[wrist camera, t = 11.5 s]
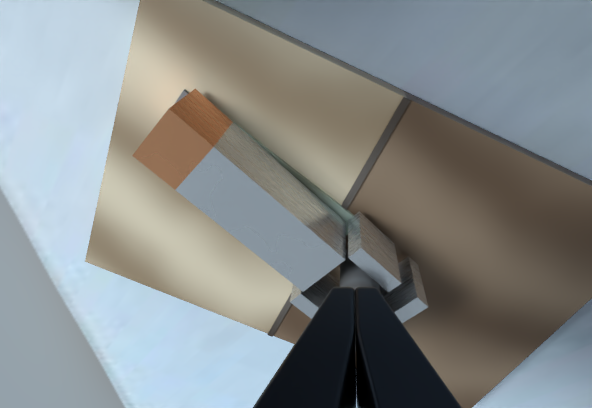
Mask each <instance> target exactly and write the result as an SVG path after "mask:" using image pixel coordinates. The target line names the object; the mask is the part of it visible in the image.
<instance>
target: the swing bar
mask: <svg viewBox="0 0 592 408" xmlns="http://www.w3.org/2000/svg"><path fill="white" fill-rule="evenodd" d="M132 156H133V157H134V158H136V159H137V160H138V161H139V162H141V163H142V164H143V165H145V166H146V167H147V168H148V169H150V170H151V171H152V172H153V173H155V174H156V175H157V176H158V177H160V178H161V179H162V180H163V181H165V182H166V183H167V184H168V185H170V186H171V187H172V188H173V189H175V190H176V191H177V192H178V193H180V194H181V195H182V196H183V197H185V198H186V199H187V200H188V201H190V202H191V203H192V204H193V205H195V206H196V207H197V208H198V209H200V210H201V211H202V212H203V213H205V214H206V215H207V216H208V217H210V218H211V219H212V220H213V221H215V222H216V223H217V224H218V225H220V226H221V227H222V228H224V229H225V230H226V231H227V232H229V233H230V234H231V235H232V236H234V237H235V238H236V239H237V240H239V241H240V242H241V243H242V244H244V245H245V246H246V247H247V248H249V249H250V250H251V251H252V252H254V253H255V254H256V255H257V256H259V257H260V258H261V259H262V260H264V261H265V262H266V263H267V264H269V265H270V266H271V267H272V268H274V269H275V270H276V271H277V272H279V273H280V274H281V275H282V276H284V277H285V278H286V279H287V280H289V281H290V282H291V283H292V284H293V287H292V292H291V298H290V303H292V304H293V305H294V306H296V307H297V308H298V309H299V310H301V311H302V312H303V313H305V314H306V315H307V316H308V317H310V318H311V319H312V318H313V316H314V315H315V313H316V312H317V310H318V309H319V307H320V305H321V304H322V302H323V301H324V299H325V298H326V296H327V295H328V293H329V292H330V290H331V289H332V288H333V287H340V282H339V281H338V280H337V279H336V278H335V277H333V276H332V275H331V274H330V273H329V272H330V271H331V270H333V269H334V268H335V267H337V266H338V265H339V264H341V263H342V262H343V261H345V256H346V222H345V221H344V220H343V219H341V218H340V217H339V216H338V215H337V214H336V213H335V212H334V211H332V210H331V209H330V208H329V207H328V206H327V205H326V204H325V203H323V202H322V201H321V200H320V199H319V198H318V197H317V196H316V195H314V194H313V193H312V192H311V191H310V190H309V189H308V188H307V187H305V186H304V185H303V184H302V183H301V182H300V181H299V180H298V179H296V178H295V177H294V176H293V175H292V174H291V173H290V172H289V171H287V170H286V169H285V168H284V167H283V166H282V165H281V164H280V163H279V162H277V161H276V160H275V159H274V158H273V157H272V156H271V155H270V154H268V153H267V152H266V151H265V150H264V149H263V148H262V147H261V146H259V145H258V144H257V143H256V142H255V141H254V140H253V139H252V138H250V137H249V136H248V135H247V134H246V133H245V132H244V131H243V130H241V129H240V128H239V127H238V126H237V125H236V124H235V123H234V122H232V121H231V120H230V119H229V118H228V117H227V116H226V115H225V114H223V113H222V112H221V111H220V110H219V109H218V108H217V107H216V106H214V105H213V104H212V103H211V102H210V101H209V100H208V99H207V98H205V97H204V96H203V95H202V94H201V93H200V92H199V91H198V90H197V89H194V90H193V91H191V92H190V93H189V94H187V95H186V96H185V97H183V98H182V99H181V100H179V101H178V102H177V103H175V104H174V105H173V106H171V107H170V108H169V109H168V110H167V111H166V113H165V114H164V115H163V117H162V118H161V119H160V120H159V122H158V123H157V124H156V126H155V127H154V128H153V129H152V131H151V132H150V133H149V134H148V136H147V137H146V138H145V140H144V141H143V142H142V143H141V145H140V146H139V147H138V149H137V150H136V151H135V152H134V154H133V155H132ZM348 258H349V259H350V260H351V261H352V262H354V263H355V264H356V265H357V266H358V267H359V268H361V269H362V270H363V271H364V272H365V273H366V274H368V275H369V276H370V277H371V278H372V279H373V280H375V281H376V282H377V283H378V284H379V287H380V293H381V294H382V296H383V297H384V298H385V300H386V301H387V302H388V304H389V305H390V307H391V308H392V310H393V311H394V313H395V314H396V315H397V317H398V318H399V320H400V321H401V322H402V323H404V322H405V321H407V320H408V319H410V318H412V317H413V316H415V315H416V314H418V313H420V312H421V311H423V310H425V309H426V308H428V304H427V299H426V295H425V291H424V287H423V283H422V279H421V275H420V270H419V266H418V264H417V263H415V262H414V261H413V260H412V259H411V258H410V257H409V256H408V257H407V258H405V259H404V260H403V261H401V262H400V263H398V260H397V255H396V249H395V243H393V242H392V241H391V240H390V239H389V238H388V237H387V236H386V235H385V234H384V233H382V232H381V231H380V230H379V229H378V228H377V227H376V226H375V225H374V224H373V223H372V222H370V221H369V220H368V219H367V218H366V217H365V216H364V215H363V214H362V213H361V212H358V213H357V214H355V215H354V216H353V217H352V218H351V219H349V220H348Z"/></svg>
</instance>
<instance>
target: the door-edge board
mask: <svg viewBox="0 0 592 408" xmlns="http://www.w3.org/2000/svg"><path fill="white" fill-rule="evenodd" d="M194 89H197V90H198V91H199V92H200V93H201V94H202V95H203V96H204V97H205V98H207V99H208V100H209V101H210V102H211V103H212V104H213V105H214V106H216V107H217V108H218V109H219V110H220V111H221V112H222V113H223V114H225V115H226V116H227V117H228V118H229V119H230V120H231V121H232V122H234V123H235V124H236V125H237V126H238V127H239V128H240V129H241V130H243V131H244V132H245V133H246V134H247V135H248V136H249V137H250V138H252V139H253V140H254V141H255V142H256V143H257V144H258V145H259V146H261V147H262V148H263V149H264V150H265V151H266V152H267V153H268V154H270V155H271V156H272V157H273V158H274V159H275V160H276V161H277V162H279V163H280V164H281V165H282V166H283V167H284V168H285V169H286V170H287V171H289V172H290V173H291V174H292V175H293V176H294V177H295V178H296V179H298V180H299V181H300V182H301V183H302V184H303V185H304V186H305V187H307V188H308V189H309V190H310V191H311V192H312V193H313V194H314V195H316V196H317V197H318V198H319V199H320V200H321V201H322V202H323V203H325V204H326V205H327V206H328V207H329V208H330V209H331V210H332V211H334V212H335V213H336V214H337V215H338V216H339V217H340V218H341V219H343V220H344V221H345V222H346V256H345V261H343V262H342V263H341V264H339V265H338V266H337V267H335V268H334V269H333V270H331V271H330V272H329V273H330V274H331V275H332V276H333V277H335V278H336V279H337V280H338V281H339V282H340V287H352V288H354V291H355V289H356V288H357V287H376V288H377V289H378V290H379V291H380V287H379V284H378V283H377V282H376V281H375V280H373V279H372V278H371V277H370V276H369V275H368V274H366V273H365V272H364V271H363V270H362V269H361V268H359V267H358V266H357V265H356V264H355V263H354V262H352V261H351V260H350V259H349V258H348V220H349V219H351V218H352V217H353V216H354V215H355V214H357V213H358V212H361V213H362V214H363V215H364V216H365V217H366V218H367V219H368V220H369V221H370V222H372V223H373V224H374V225H375V226H376V227H377V228H378V229H379V230H380V231H381V232H382V233H384V234H385V235H386V236H387V237H388V238H389V239H390V240H391V241H392V242H393V243H395V249H396V255H397V260H398V263H400V262H401V261H403V260H404V259H405V258H407V257H408V256H409V257H410V258H411V259H412V260H413V261H414V262H415V263H417V264H418V266H419V270H420V275H421V279H422V283H423V287H424V291H425V295H426V299H427V304H428V308H426V309H425V310H423V311H421V312H420V313H418V314H416V315H415V316H413V317H412V318H410V319H408V320H407V321H405V322H404V323H402V324H403V325H404V327H405V328H406V330H407V331H408V332H409V334H410V335H411V337H412V338H413V339H414V341H415V342H416V344H417V345H418V346H419V348H420V349H421V351H422V352H423V354H424V355H425V356H426V358H427V359H428V361H429V362H430V363H431V365H432V366H433V368H434V369H435V371H436V372H437V373H438V375H439V376H440V378H441V379H442V380H443V382H444V383H445V385H446V386H447V388H448V389H449V390H450V392H451V393H452V395H453V396H454V397H455V399H456V400H457V402H458V403H459V404H460V406H461V407H462V408H472V407H473V406H474V405H475V404H476V403H477V402H478V401H480V400H481V399H482V398H483V397H484V396H485V395H486V394H487V393H488V392H489V391H491V390H492V389H493V388H494V387H495V386H496V385H497V384H498V383H499V382H500V381H501V380H503V379H504V378H505V377H506V376H507V375H508V374H509V373H510V372H511V371H512V370H514V369H515V368H516V367H517V366H518V365H519V364H520V363H521V362H522V361H523V360H525V359H526V358H527V357H528V356H529V355H530V354H531V353H532V352H533V351H534V350H535V349H537V348H538V347H539V346H540V345H541V344H542V343H543V342H544V341H545V340H546V339H548V338H549V337H550V336H551V335H552V334H553V333H554V332H555V331H556V330H557V329H559V328H560V327H561V326H562V325H563V324H564V323H565V322H566V321H567V320H568V319H569V318H571V317H572V316H573V315H574V314H575V313H576V312H577V311H578V310H579V309H580V308H582V307H583V306H584V305H585V304H586V303H587V302H588V301H589V300H590V299H591V298H592V181H591V180H589V179H587V178H585V177H582V176H580V175H578V174H576V173H574V172H572V171H570V170H568V169H566V168H564V167H562V166H559V165H557V164H555V163H553V162H551V161H549V160H547V159H545V158H543V157H541V156H539V155H537V154H534V153H532V152H530V151H528V150H526V149H524V148H522V147H520V146H518V145H516V144H514V143H511V142H509V141H507V140H505V139H503V138H501V137H499V136H497V135H495V134H493V133H491V132H489V131H486V130H484V129H482V128H480V127H478V126H476V125H474V124H472V123H470V122H468V121H466V120H463V119H461V118H459V117H457V116H455V115H453V114H451V113H449V112H447V111H445V110H443V109H441V108H438V107H436V106H434V105H432V104H430V103H428V102H426V101H424V100H422V99H420V98H418V97H415V96H413V95H411V94H409V93H407V92H405V91H403V90H401V89H399V88H397V87H395V86H392V85H390V84H388V83H386V82H384V81H382V80H380V79H378V78H376V77H374V76H372V75H370V74H367V73H365V72H363V71H361V70H359V69H357V68H355V67H353V66H351V65H349V64H347V63H344V62H342V61H340V60H338V59H336V58H334V57H332V56H330V55H328V54H326V53H324V52H322V51H319V50H317V49H315V48H313V47H311V46H309V45H307V44H305V43H303V42H301V41H299V40H296V39H294V38H292V37H290V36H288V35H286V34H284V33H282V32H280V31H278V30H276V29H273V28H271V27H269V26H267V25H265V24H263V23H261V22H259V21H257V20H255V19H253V18H251V17H248V16H246V15H244V14H242V13H240V12H238V11H236V10H234V9H232V8H230V7H228V6H225V5H223V4H221V3H219V2H217V1H215V0H140V3H139V7H138V12H137V17H136V22H135V26H134V31H133V36H132V41H131V46H130V50H129V55H128V60H127V65H126V69H125V74H124V79H123V84H122V88H121V93H120V98H119V103H118V107H117V112H116V117H115V122H114V127H113V131H112V136H111V141H110V146H109V150H108V155H107V160H106V165H105V169H104V174H103V179H102V184H101V188H100V193H99V198H98V203H97V208H96V212H95V217H94V222H93V227H92V231H91V236H90V241H89V246H88V250H87V255H86V260H85V262H88V263H90V264H93V265H95V266H98V267H100V268H103V269H105V270H108V271H110V272H113V273H115V274H118V275H121V276H123V277H126V278H128V279H131V280H133V281H136V282H138V283H141V284H143V285H146V286H148V287H151V288H154V289H156V290H159V291H161V292H164V293H166V294H169V295H171V296H174V297H176V298H179V299H181V300H184V301H187V302H189V303H192V304H194V305H197V306H199V307H202V308H204V309H207V310H209V311H212V312H214V313H217V314H220V315H222V316H225V317H227V318H230V319H232V320H235V321H237V322H240V323H242V324H245V325H247V326H250V327H253V328H255V329H258V330H260V331H263V332H265V333H268V335H269V336H272V337H273V336H275V337H278V338H280V339H283V340H286V341H288V342H291V343H293V344H295V343H296V342H297V340H298V339H299V337H300V336H301V334H302V333H303V331H304V330H305V328H306V327H307V325H308V324H309V322H310V321H311V318H310V317H308V316H307V315H306V314H305V313H303V312H302V311H301V310H299V309H298V308H297V307H296V306H294V305H293V304H292V303H290V298H291V292H292V287H293V284H292V283H291V282H290V281H289V280H287V279H286V278H285V277H284V276H282V275H281V274H280V273H279V272H277V271H276V270H275V269H274V268H272V267H271V266H270V265H269V264H267V263H266V262H265V261H264V260H262V259H261V258H260V257H259V256H257V255H256V254H255V253H254V252H252V251H251V250H250V249H249V248H247V247H246V246H245V245H244V244H242V243H241V242H240V241H239V240H237V239H236V238H235V237H234V236H232V235H231V234H230V233H229V232H227V231H226V230H225V229H224V228H222V227H221V226H220V225H218V224H217V223H216V222H215V221H213V220H212V219H211V218H210V217H208V216H207V215H206V214H205V213H203V212H202V211H201V210H200V209H198V208H197V207H196V206H195V205H193V204H192V203H191V202H190V201H188V200H187V199H186V198H185V197H183V196H182V195H181V194H180V193H178V192H177V191H176V190H175V189H173V188H172V187H171V186H170V185H168V184H167V183H166V182H165V181H163V180H162V179H161V178H160V177H158V176H157V175H156V174H155V173H153V172H152V171H151V170H150V169H148V168H147V167H146V166H145V165H143V164H142V163H141V162H139V161H138V160H137V159H136V158H134V157H133V156H132V155H133V154H134V152H135V151H136V150H137V149H138V147H139V146H140V145H141V143H142V142H143V141H144V140H145V138H146V137H147V136H148V134H149V133H150V132H151V131H152V129H153V128H154V127H155V126H156V124H157V123H158V122H159V120H160V119H161V118H162V117H163V115H164V114H165V113H166V111H167V110H168V109H169V108H170V107H171V106H173V105H174V104H175V103H177V102H178V101H179V100H181V99H182V98H183V97H185V96H186V95H187V94H189V93H190V92H191V91H193V90H194ZM387 303H388V302H387ZM355 341H356V335H355Z"/></svg>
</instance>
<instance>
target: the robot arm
mask: <svg viewBox="0 0 592 408" xmlns="http://www.w3.org/2000/svg"><path fill="white" fill-rule="evenodd" d="M355 335H356V341H355ZM356 387H357V408H462V407H461V406H460V404H459V403H458V402H457V400H456V399H455V397H454V396H453V395H452V393H451V392H450V390H449V389H448V388H447V386H446V385H445V383H444V382H443V380H442V379H441V378H440V376H439V375H438V373H437V372H436V371H435V369H434V368H433V366H432V365H431V363H430V362H429V361H428V359H427V358H426V356H425V355H424V354H423V352H422V351H421V349H420V348H419V346H418V345H417V344H416V342H415V341H414V339H413V338H412V337H411V335H410V334H409V332H408V331H407V330H406V328H405V327H404V325H403V324H402V322H401V321H400V320H399V318H398V317H397V315H396V314H395V313H394V311H393V310H392V308H391V307H390V305H389V304H388V303H387V301H386V300H385V298H384V297H383V296H382V294H381V293H380V291H379V290H378V289H377V288H376V287H357V288H356V289H355V291H354V288H352V287H333V288H332V289H331V290H330V292H329V293H328V295H327V296H326V298H325V299H324V301H323V302H322V304H321V305H320V307H319V309H318V310H317V312H316V313H315V315H314V316H313V318H312V319H311V321H310V322H309V324H308V325H307V327H306V328H305V330H304V331H303V333H302V334H301V336H300V337H299V339H298V340H297V342H296V343H295V345H294V346H293V348H292V349H291V351H290V352H289V354H288V355H287V357H286V358H285V360H284V361H283V363H282V364H281V366H280V367H279V369H278V370H277V372H276V373H275V375H274V376H273V378H272V380H271V381H270V383H269V384H268V386H267V387H266V389H265V390H264V392H263V393H262V395H261V396H260V398H259V399H258V401H257V402H256V404H255V405H254V407H253V408H356Z"/></svg>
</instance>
